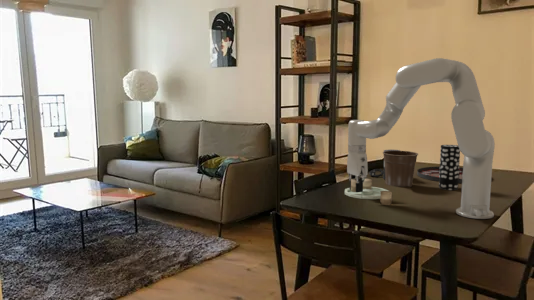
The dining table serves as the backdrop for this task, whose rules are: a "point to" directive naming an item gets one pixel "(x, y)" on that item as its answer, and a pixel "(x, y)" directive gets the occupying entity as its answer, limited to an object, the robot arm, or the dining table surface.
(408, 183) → the plant pot
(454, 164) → the white-spotted black cylinder
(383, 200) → the brown egg
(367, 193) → the pale green faceted plate
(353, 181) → the tan egg
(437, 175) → the palette wheel
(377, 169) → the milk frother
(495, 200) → the dining table surface
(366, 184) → the bead
